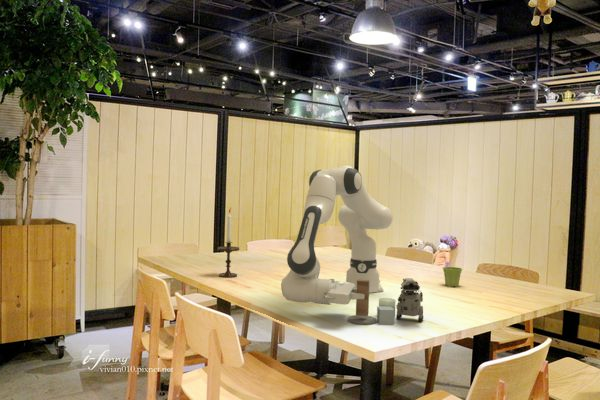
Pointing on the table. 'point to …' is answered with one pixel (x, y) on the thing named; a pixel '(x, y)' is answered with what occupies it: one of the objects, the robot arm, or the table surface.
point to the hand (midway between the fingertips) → (365, 294)
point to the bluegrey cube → (385, 315)
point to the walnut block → (362, 304)
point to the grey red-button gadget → (410, 300)
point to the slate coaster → (362, 320)
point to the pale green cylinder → (387, 303)
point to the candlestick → (228, 250)
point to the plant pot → (452, 276)
